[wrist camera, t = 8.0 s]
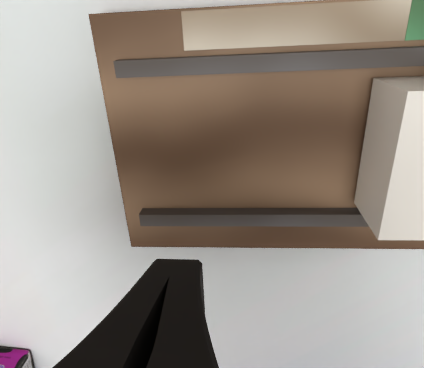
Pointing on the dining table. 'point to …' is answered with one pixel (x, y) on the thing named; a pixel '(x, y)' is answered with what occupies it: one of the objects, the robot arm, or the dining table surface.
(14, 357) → the candy bar box
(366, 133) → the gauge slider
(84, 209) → the dining table surface
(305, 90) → the base
